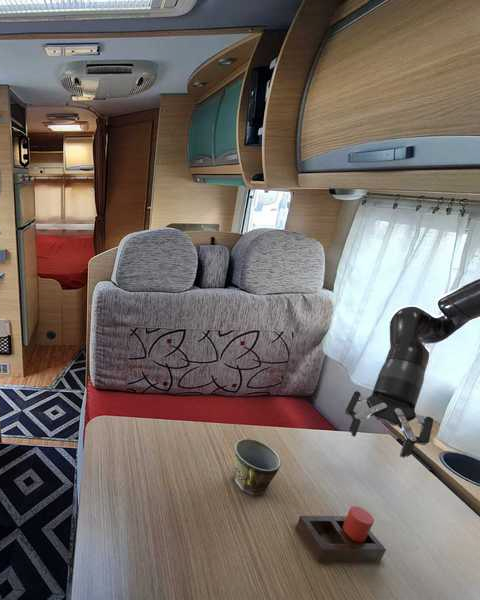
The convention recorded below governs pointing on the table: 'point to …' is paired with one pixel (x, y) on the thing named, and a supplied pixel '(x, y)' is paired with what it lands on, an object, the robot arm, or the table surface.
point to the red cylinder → (357, 525)
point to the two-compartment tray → (337, 541)
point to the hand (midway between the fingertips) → (377, 445)
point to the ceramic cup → (255, 465)
